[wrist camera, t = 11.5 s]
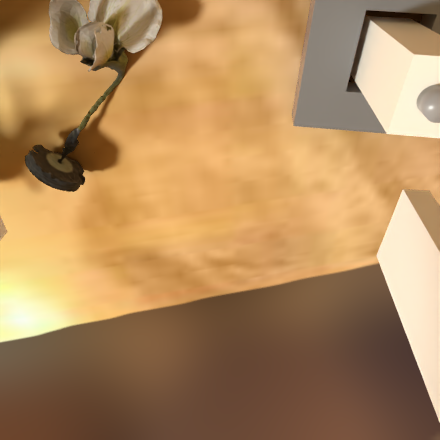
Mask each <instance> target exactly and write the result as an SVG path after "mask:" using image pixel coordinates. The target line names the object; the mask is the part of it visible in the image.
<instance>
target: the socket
mask: <svg viewBox="0 0 440 440" xmlns="http://www.w3.org/2000/svg"><path fill="white" fill-rule="evenodd" d="M366 10H373V11H389V12H405V13H421V14H423V15H422V18H421V21H420V24H421V25H423V26H425V27H427V28H429V29H430V30H432V31H434V32H436V33H438V34H440V0H311V4H310V10H309V16H308V22H307V28H306V34H305V40H304V46H303V52H302V58H301V64H300V70H299V76H298V82H297V88H296V94H295V100H294V106H293V112H292V118H293V126H301V127H313V128H325V129H338V130H350V131H362V132H374V133H386V132H385V130H384V128H383V127H382V125H381V123H380V122H379V120H378V118H377V117H376V115H375V113H374V112H373V110H372V108H371V107H370V105H369V104H368V102H367V100H366V99H365V97H364V95H363V94H362V92H361V90H360V89H359V87H358V85H357V84H356V83H351V82H348V81H349V77H350V73H351V69H352V65H353V61H354V57H355V53H356V49H357V45H358V41H359V37H360V33H361V29H362V25H363V21H364V17H365V13H366ZM386 134H387V133H386Z"/></svg>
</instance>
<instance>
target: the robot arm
mask: <svg viewBox="0 0 440 440" xmlns="http://www.w3.org/2000/svg"><path fill="white" fill-rule="evenodd" d="M6 233H7V230H6V228H5V225H4V223H3V221H2V219H1V216H0V240H1V239H2V238H3V236H4V235H5V234H6ZM377 258H378V261H379V263H380V266H381V269H382V271H383V274H384V276H385V279H386V282H387V285H388V287H389V290H390V292H391V295H392V298H393V300H394V303H395V305H396V308H397V311H398V313H399V316H400V319H401V321H402V324H403V327H404V329H405V332H406V335H407V337H408V340H409V343H410V345H411V348H412V350H413V353H414V355H415V358H416V361H417V364H418V366H419V369H420V371H421V374H422V377H423V379H424V382H425V385H426V387H427V390H428V393H429V395H430V398H431V401H432V403H433V406H434V408H435V411H436V414H437V416H438V419H439V422H440V206H439V204H438V203H437V201H436V200H435V198H434V197H433V195H432V194H431V192H430V191H428V190H410V189H403V191H402V193H401V196H400V198H399V201H398V203H397V206H396V208H395V211H394V213H393V216H392V218H391V221H390V223H389V226H388V228H387V231H386V233H385V236H384V238H383V241H382V243H381V246H380V249H379V251H378V254H377Z"/></svg>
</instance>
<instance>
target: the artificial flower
mask: <svg viewBox="0 0 440 440" xmlns="http://www.w3.org/2000/svg"><path fill="white" fill-rule="evenodd" d="M49 16H50V40H51V42H52V44H53V46H54V47H56V48H57V49H59V50H60V51H62V52H64V53H66V54H72V55H74V54H79V55H82V56H83V59H82V61H80V62H82V63H84V64H86V65H88V66H92V67H91V68H90V69H89V70H88V71H91V70H93V71H96V70H99V69H101V68H103V67H109V68H111V69H114V70H116V71H117V72H118V77H117V79H116V80H115V81H114V82H113V84H112V85H111V86H110V87H109V88H108V89H107V91H106V92H105V93H104V95H103V96H101V97H100V98H99V99H98V100H97V102H96V103H95V104H94V105H93V106H92V108H91V109H90V110H89V112H88V114H87V115H86V116H85V118H84V119H83V121H82V122H81V124H80V126H79V127H78V128H76V129H74V130H73V131H72V132H71V133H70V134H69V135H68V137H67V140H66V142H65V148H63V152H62V153H58V152H57V153H55V152H52V151H49V150H47V149H45V148H44V147H43V146H42V145H35V146H34V147H33V149H34V150H35V151H36V152H38V153H36V152H34V151H33V150H31V151H30V152H29V154H28V155H26V156H25V163H26V166H27V167H28V169H29V170H30V172H31V173H32V174H33V175H34V176H35V177H36V178H37V179H38V180H40V181H41V182H43V183H44V184H46V185H48V186H50V187H52V188H55V189H59V190H63V191H70V192H71V191H73V192H74V191H77V189H78V188H79V187H80V185H83V184H84V182H85V177H83V172H84V170H83V168H82V166H81V165H80V164H79V163H78V162H77V161H76V160H72V159H69V158H68V157H67V156H66V155H68V154H69V153H71V152H72V151H74V150H75V148H76V146H77V145H78V143H79V142H78V140H77V138H78V135H79V133H80V131H81V130H82V129H83V128H84V127H85V126H86V124H87V122H88V121H89V119H90V116H91V115H92V114H93V113H94V112H95V111H96V110H97V108H98V107H99V105H100V104H101V103H102V102H103V101H104V100H105V99H106V97H107V96H108V95H109V94H110V93H111V92H112V91H113V89H114V88H115V87H116V86H117V85H118V84H119V83H120V81H121V79H122V78H123V77H124V73H125V68H126V65H127V63H128V58H127V56H126V54H125V52H124V50H125V49H127V51H129V52H132V53H135V52H138V51H140V50H142V49H144V48H145V47H146V46H147V45H149V44H150V43H151V42H153V41H154V39H155V38H156V35H157V33H158V31H159V29H160V26H161V23H162V9H161V6H160V4H159V2H158V1H157V0H90V8H89V11H88V18H89V20H90V21H91V22H88V19H87V14H86V12H85V10H84V8H83V7H82V5H81V4H80V3H79V2H78V1H77V0H51V1H50V4H49ZM13 153H14V152H13Z"/></svg>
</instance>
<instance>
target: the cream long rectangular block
mask: <svg viewBox="0 0 440 440" xmlns="http://www.w3.org/2000/svg"><path fill="white" fill-rule="evenodd" d="M351 76H352V77H353V79H354V80H355V82H356V84H357V85H358V87H359V89H360V90H361V92H362V94H363V95H364V97H365V99H366V100H367V102H368V104H369V105H370V107H371V108H372V110H373V112H374V113H375V115H376V117H377V118H378V120H379V122H380V123H381V125H382V127H383V128H384V130H385V132H386V133H387V134H395V135H407V136H419V137H431V138H440V34H438V33H436V32H434V31H432V30H430V29H429V28H427V27H425V26H423V25H421V24H420V23H418V22H416V21H414V20H412V19H408V18H392V17H377V16H365V18H364V22H363V26H362V30H361V34H360V38H359V42H358V46H357V50H356V54H355V58H354V62H353V66H352V70H351Z"/></svg>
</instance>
